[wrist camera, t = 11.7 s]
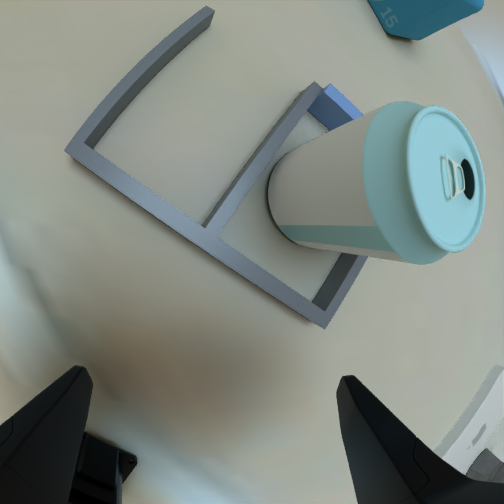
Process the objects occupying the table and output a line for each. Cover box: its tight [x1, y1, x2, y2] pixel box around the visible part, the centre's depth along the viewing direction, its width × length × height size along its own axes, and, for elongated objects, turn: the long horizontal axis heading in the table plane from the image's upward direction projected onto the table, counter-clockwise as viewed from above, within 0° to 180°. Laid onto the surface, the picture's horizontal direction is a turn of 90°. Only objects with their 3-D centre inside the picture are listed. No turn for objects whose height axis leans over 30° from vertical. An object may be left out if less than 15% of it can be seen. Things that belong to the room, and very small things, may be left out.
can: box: [268, 101, 485, 265], centre depth 15 cm, size 7×7×12 cm
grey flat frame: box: [64, 6, 368, 329], centre depth 18 cm, size 14×20×3 cm
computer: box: [433, 365, 504, 474], centre depth 34 cm, size 22×22×3 cm
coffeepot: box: [466, 449, 504, 483], centre depth 33 cm, size 15×9×18 cm, turn 118°
